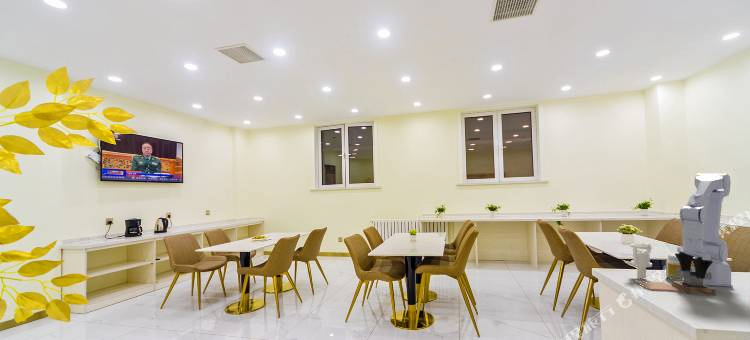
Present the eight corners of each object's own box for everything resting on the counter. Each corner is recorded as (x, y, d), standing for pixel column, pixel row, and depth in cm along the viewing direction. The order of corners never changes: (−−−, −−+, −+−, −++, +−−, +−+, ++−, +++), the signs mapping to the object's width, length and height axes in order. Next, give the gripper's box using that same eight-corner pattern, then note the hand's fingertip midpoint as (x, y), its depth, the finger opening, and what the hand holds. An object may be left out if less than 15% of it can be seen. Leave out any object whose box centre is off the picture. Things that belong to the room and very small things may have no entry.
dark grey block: (702, 289, 134) (702, 269, 134) (711, 293, 129) (711, 272, 130) (675, 287, 135) (675, 268, 136) (683, 291, 131) (683, 271, 131)
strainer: (643, 281, 144) (642, 244, 144) (626, 276, 151) (626, 241, 151) (656, 280, 145) (656, 243, 146) (640, 275, 152) (639, 240, 153)
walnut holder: (698, 287, 136) (698, 282, 136) (716, 295, 127) (716, 289, 127) (671, 286, 138) (671, 280, 138) (687, 293, 129) (687, 287, 129)
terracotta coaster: (663, 283, 140) (663, 282, 140) (680, 291, 131) (680, 290, 131) (635, 282, 142) (635, 280, 142) (649, 290, 132) (649, 288, 132)
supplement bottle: (686, 281, 144) (686, 257, 145) (671, 280, 146) (671, 256, 146) (677, 277, 150) (677, 254, 150) (663, 276, 151) (663, 253, 151)
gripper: (668, 235, 141) (668, 269, 140) (694, 241, 126) (694, 280, 126) (688, 236, 139) (689, 270, 139) (717, 242, 125) (717, 281, 125)
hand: (693, 275), depth 133 cm, fingers open, 7 cm apart
